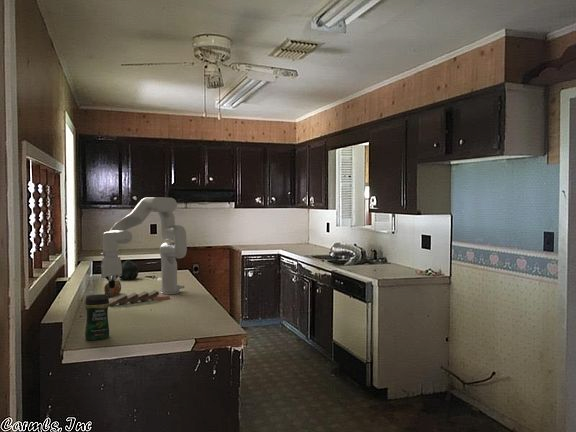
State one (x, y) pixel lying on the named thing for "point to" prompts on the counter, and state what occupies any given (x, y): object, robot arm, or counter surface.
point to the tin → (113, 289)
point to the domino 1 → (117, 300)
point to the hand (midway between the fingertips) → (111, 287)
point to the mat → (132, 304)
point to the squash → (129, 270)
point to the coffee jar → (97, 317)
